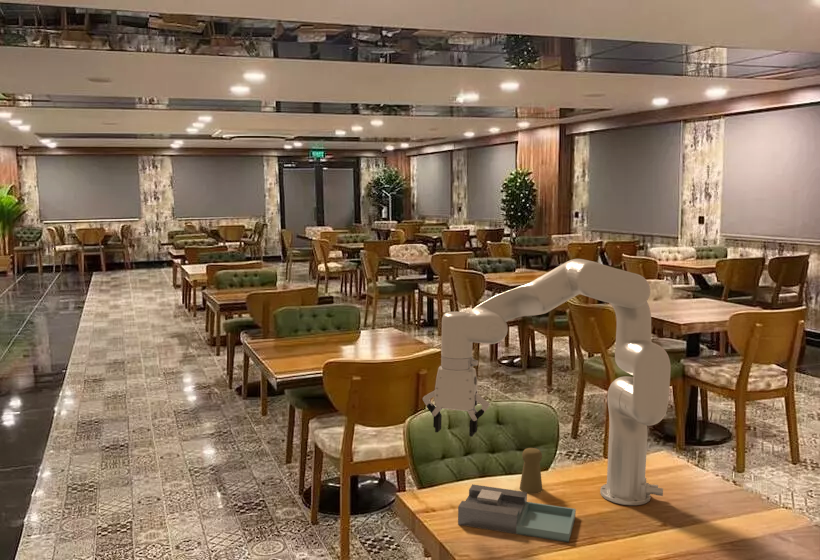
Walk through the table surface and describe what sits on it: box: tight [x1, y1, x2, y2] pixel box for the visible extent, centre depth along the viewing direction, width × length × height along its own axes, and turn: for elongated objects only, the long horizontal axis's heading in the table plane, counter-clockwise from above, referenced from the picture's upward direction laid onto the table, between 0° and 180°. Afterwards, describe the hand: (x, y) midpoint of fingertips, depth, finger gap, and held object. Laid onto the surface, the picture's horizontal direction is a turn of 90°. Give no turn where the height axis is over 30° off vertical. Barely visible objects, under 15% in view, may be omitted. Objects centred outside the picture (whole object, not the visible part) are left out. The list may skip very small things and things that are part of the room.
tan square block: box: [477, 489, 502, 506], centre depth 177 cm, size 5×5×2 cm
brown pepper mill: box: [519, 447, 543, 495], centre depth 194 cm, size 6×6×11 cm
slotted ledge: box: [457, 484, 528, 535], centre depth 177 cm, size 14×14×4 cm
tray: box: [515, 501, 577, 543], centre depth 173 cm, size 12×14×2 cm
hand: (455, 432), depth 178 cm, fingers open, 8 cm apart
